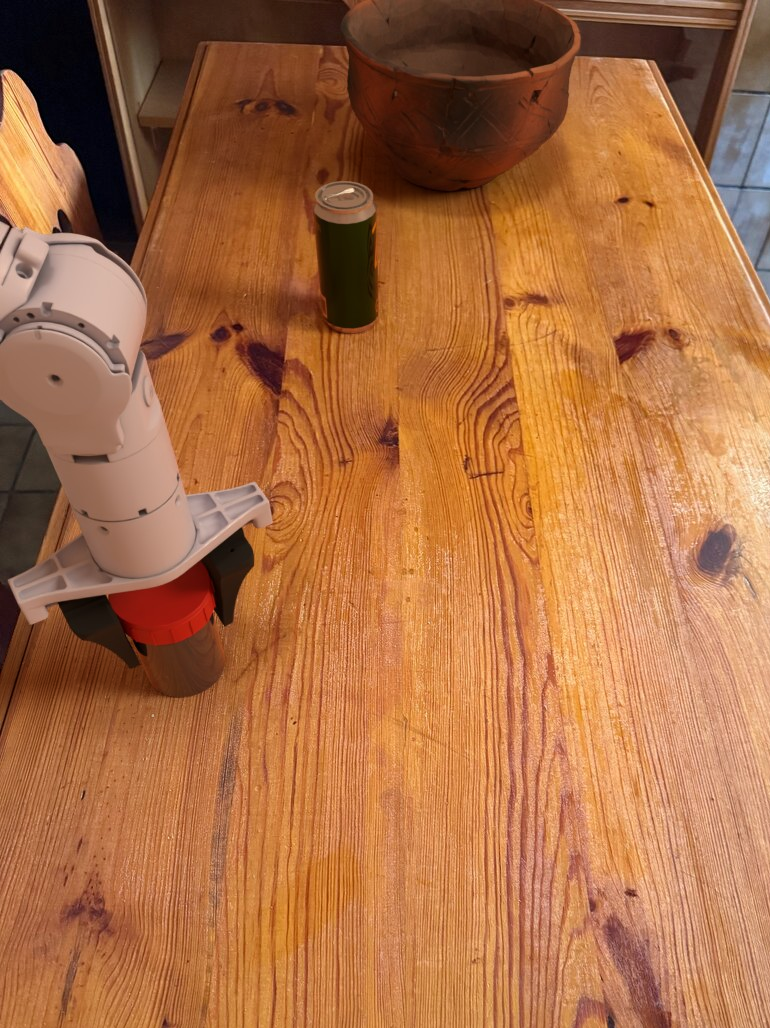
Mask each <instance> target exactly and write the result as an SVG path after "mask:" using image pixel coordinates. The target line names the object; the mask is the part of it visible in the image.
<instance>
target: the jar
mask: <svg viewBox="0 0 770 1028" xmlns="http://www.w3.org/2000/svg"><path fill="white" fill-rule="evenodd" d="M130 639H131V641H132V644H133V647H134V649H135V652H136V655H137V657H138V659H139V662H140V664H141V666H142V668H143V671H144V673H145V675H146V677H147V679H148V682H149V684H150V685H151V687H152V688H154V689H155V691H157V692H158V693H160V694H163V695H165V696H168V697H172V698H189V697H194V696H196V695H200V694H201V693H203V692H205V691H207V690H209V689H210V688H211V687H212V686H213V685H214V684H216V682H217V681H218V680H219V679H220V677H221V676H222V674H223V673H224V670H225V666H226V654H225V651H224V646H223V643H222V639H221V636H220V633H219V628H218V625H217V622H216V618H215V614H214V612H213V613H212V615H211V617H210V619H209V622H207V623H206V624H205V625H204V626H203V628H202V629H200V630H199V631H198V632H197V633H195V635H192V636H191V637H189V638H187V639H185V640H182V641H180V642H177V643H173V644H167V645H156V646H154V645H149V644H144V643H140V642H136V641H135V640H134V639H132V638H130Z"/></svg>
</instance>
